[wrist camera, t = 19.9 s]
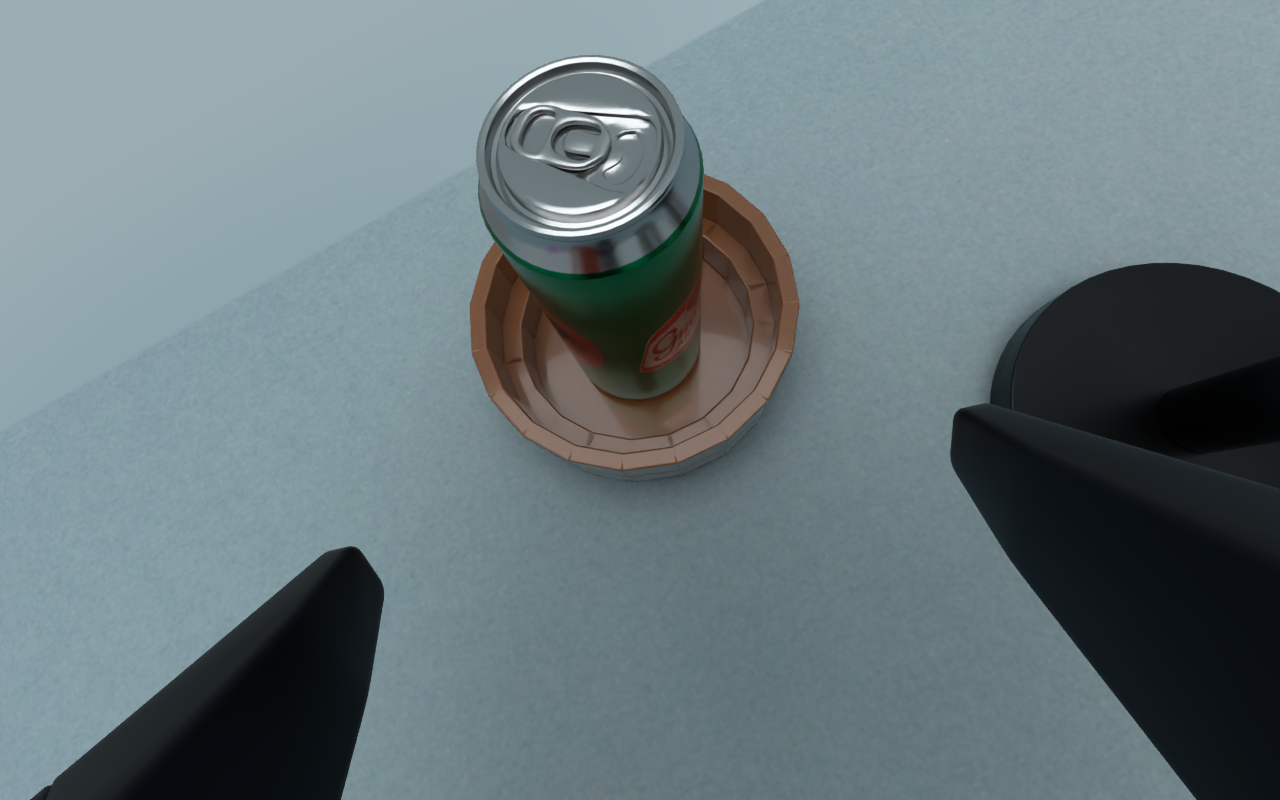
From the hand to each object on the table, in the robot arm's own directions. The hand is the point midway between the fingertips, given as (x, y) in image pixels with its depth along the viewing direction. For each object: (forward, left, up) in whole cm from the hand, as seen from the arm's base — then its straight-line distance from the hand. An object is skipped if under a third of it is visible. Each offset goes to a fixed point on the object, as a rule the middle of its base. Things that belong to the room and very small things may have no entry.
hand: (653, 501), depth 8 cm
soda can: (+5, -6, -13) cm, 15 cm away
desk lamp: (-14, -12, -14) cm, 23 cm away
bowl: (+5, -6, -14) cm, 16 cm away
